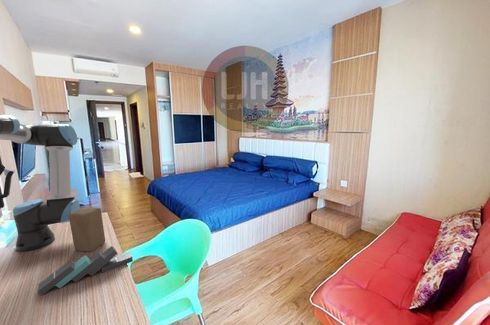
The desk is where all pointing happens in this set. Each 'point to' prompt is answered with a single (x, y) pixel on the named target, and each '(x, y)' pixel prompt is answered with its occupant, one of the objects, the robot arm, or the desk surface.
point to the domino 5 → (117, 262)
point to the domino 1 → (56, 277)
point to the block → (87, 228)
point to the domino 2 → (79, 267)
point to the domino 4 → (107, 257)
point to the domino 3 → (93, 262)
